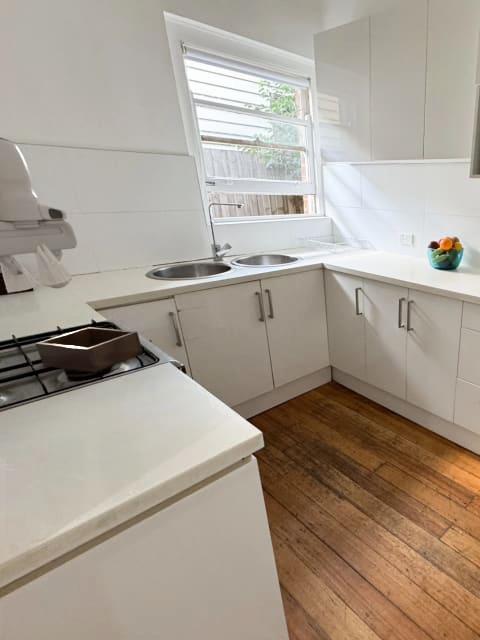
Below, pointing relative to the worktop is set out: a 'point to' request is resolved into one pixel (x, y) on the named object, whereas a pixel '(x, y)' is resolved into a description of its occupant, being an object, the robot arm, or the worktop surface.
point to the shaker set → (48, 269)
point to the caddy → (89, 349)
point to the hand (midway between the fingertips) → (37, 271)
